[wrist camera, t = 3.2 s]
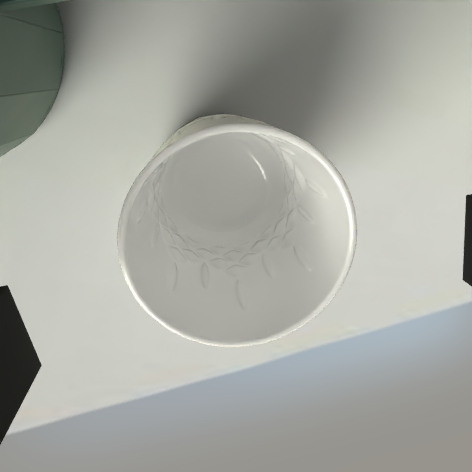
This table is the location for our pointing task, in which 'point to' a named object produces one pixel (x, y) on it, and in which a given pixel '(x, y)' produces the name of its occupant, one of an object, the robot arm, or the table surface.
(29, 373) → the robot arm
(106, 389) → the table surface
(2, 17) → the pot
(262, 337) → the white cup
